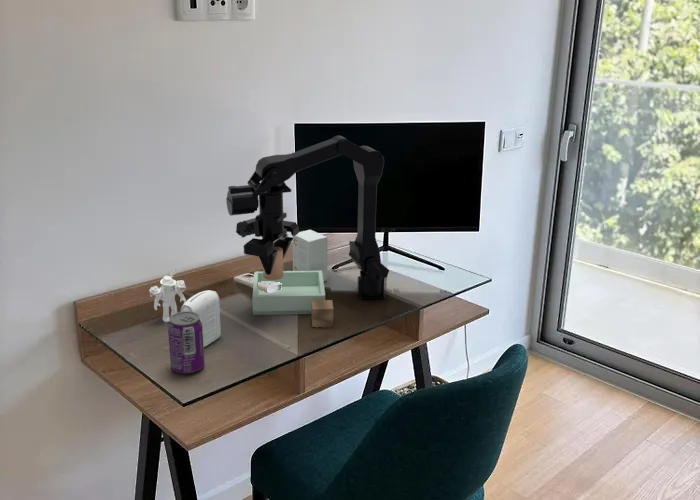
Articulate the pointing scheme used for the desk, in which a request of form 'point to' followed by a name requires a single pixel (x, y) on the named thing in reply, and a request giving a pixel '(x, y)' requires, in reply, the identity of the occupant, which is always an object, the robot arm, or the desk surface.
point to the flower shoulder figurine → (168, 295)
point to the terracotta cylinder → (276, 266)
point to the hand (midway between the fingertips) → (273, 270)
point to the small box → (310, 252)
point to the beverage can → (186, 342)
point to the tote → (289, 293)
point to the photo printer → (206, 313)
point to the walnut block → (322, 313)
